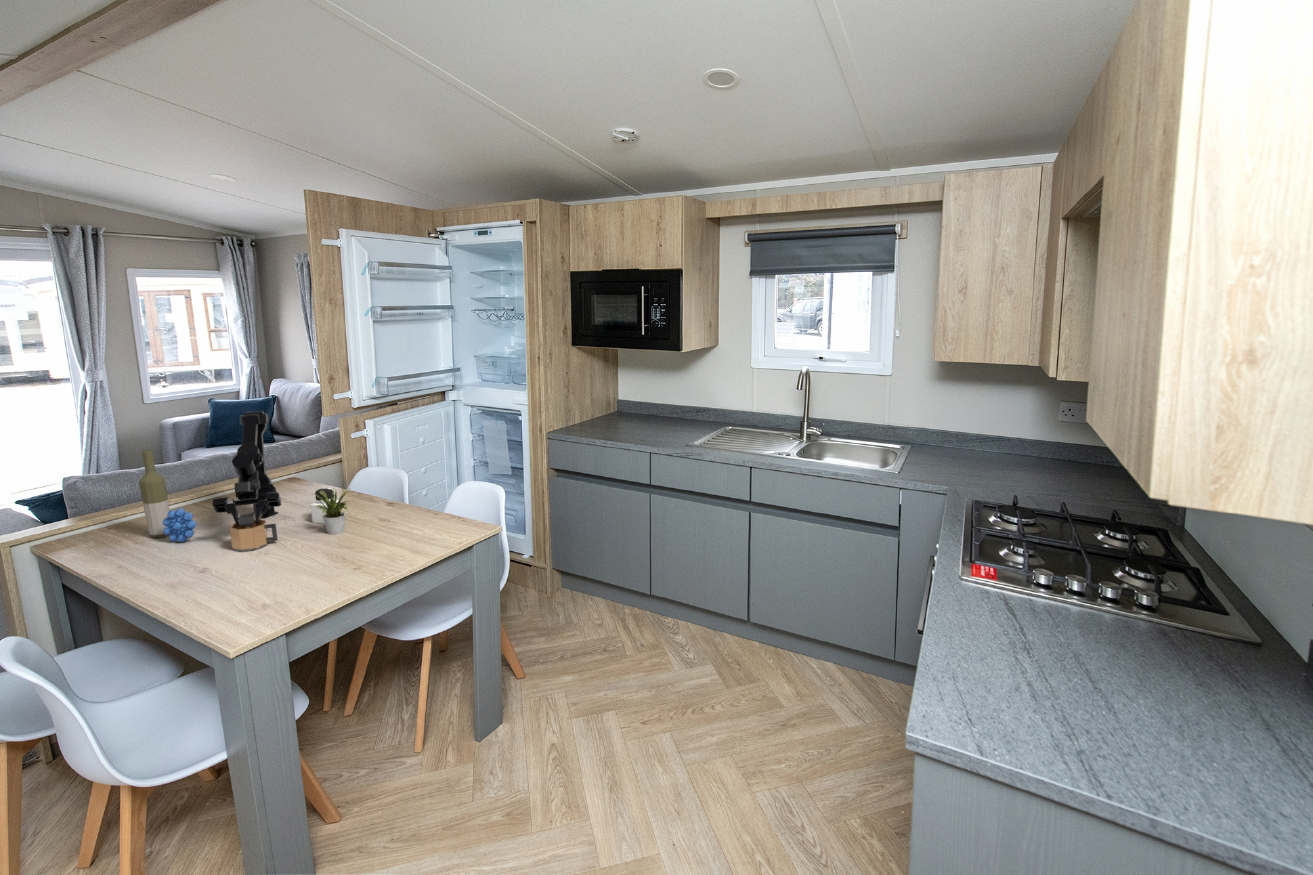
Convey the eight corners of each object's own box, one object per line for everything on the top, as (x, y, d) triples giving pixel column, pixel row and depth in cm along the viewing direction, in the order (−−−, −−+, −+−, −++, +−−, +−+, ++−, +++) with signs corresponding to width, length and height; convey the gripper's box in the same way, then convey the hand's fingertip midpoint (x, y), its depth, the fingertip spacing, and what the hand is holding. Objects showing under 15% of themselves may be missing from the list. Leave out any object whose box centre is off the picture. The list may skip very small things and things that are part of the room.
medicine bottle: (329, 524, 234) (326, 492, 231) (312, 523, 235) (308, 491, 233) (342, 518, 241) (339, 487, 238) (325, 516, 242) (322, 485, 240)
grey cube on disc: (238, 535, 214) (235, 513, 213) (263, 532, 217) (260, 510, 215) (234, 543, 208) (231, 520, 206) (260, 539, 211) (257, 517, 209)
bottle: (178, 533, 224) (164, 449, 218) (155, 540, 218) (141, 453, 212) (166, 530, 227) (152, 447, 221) (143, 537, 221) (129, 451, 214)
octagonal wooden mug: (236, 543, 215) (233, 521, 214) (279, 537, 220) (277, 516, 219) (230, 553, 207) (227, 531, 205) (276, 547, 212) (273, 525, 210)
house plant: (304, 541, 217) (298, 495, 214) (313, 527, 230) (308, 483, 227) (350, 537, 221) (345, 491, 217) (357, 524, 234) (353, 480, 231)
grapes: (208, 538, 220) (203, 504, 217) (192, 545, 213) (187, 511, 211) (176, 537, 221) (170, 503, 218) (159, 544, 214) (154, 509, 212)
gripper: (209, 474, 208) (206, 517, 200) (275, 468, 215) (275, 509, 207) (217, 491, 216) (215, 533, 209) (281, 485, 224) (281, 525, 216)
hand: (247, 524), depth 210 cm, fingers open, 5 cm apart
